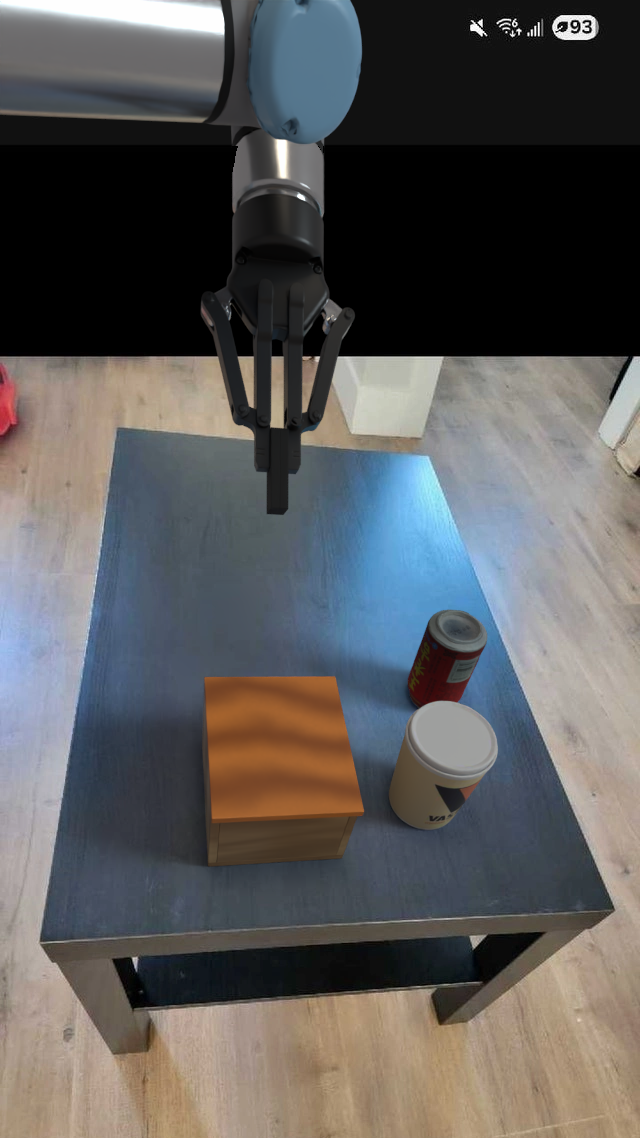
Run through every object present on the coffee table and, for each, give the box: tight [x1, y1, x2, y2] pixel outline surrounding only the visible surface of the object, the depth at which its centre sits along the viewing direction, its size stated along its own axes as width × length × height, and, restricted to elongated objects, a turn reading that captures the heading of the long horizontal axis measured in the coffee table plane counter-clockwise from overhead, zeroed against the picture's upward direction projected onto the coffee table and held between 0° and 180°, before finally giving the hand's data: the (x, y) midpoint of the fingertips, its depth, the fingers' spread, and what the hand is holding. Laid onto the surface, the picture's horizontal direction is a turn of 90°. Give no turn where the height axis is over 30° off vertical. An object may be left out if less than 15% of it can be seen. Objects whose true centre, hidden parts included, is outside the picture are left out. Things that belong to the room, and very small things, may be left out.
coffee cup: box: [388, 701, 499, 831], centre depth 72 cm, size 9×9×12 cm
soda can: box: [407, 609, 488, 709], centre depth 82 cm, size 7×7×12 cm
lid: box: [203, 675, 365, 823], centre depth 66 cm, size 16×14×1 cm
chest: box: [201, 690, 358, 867], centre depth 70 cm, size 16×14×10 cm
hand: (277, 511), depth 58 cm, fingers closed
